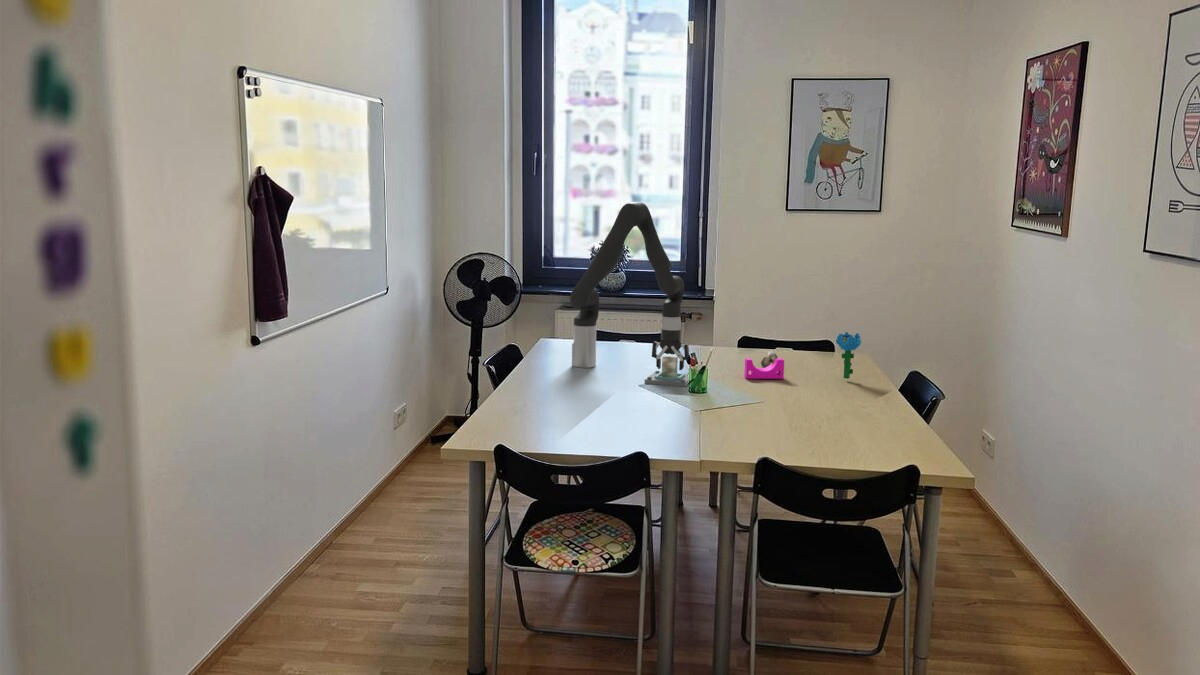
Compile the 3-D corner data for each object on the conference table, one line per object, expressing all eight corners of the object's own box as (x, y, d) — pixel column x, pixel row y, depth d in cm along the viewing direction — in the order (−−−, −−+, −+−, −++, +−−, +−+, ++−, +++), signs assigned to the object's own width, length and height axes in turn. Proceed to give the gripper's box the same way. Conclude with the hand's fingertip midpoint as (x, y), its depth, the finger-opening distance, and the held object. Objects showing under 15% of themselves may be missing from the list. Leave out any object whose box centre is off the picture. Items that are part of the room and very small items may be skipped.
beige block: (661, 377, 348) (662, 357, 347) (664, 375, 353) (665, 355, 352) (674, 378, 347) (674, 358, 345) (677, 376, 351) (677, 356, 350)
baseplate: (644, 383, 345) (644, 377, 344) (654, 375, 360) (654, 370, 360) (685, 386, 340) (685, 380, 340) (694, 378, 355) (694, 372, 355)
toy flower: (831, 378, 359) (833, 333, 357) (840, 374, 367) (842, 331, 364) (853, 381, 354) (855, 336, 351) (861, 377, 361) (864, 333, 358)
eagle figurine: (772, 371, 386) (767, 373, 378) (761, 359, 388) (755, 360, 380) (785, 359, 384) (780, 361, 376) (774, 347, 386) (768, 348, 378)
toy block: (779, 375, 365) (780, 357, 364) (783, 378, 359) (784, 360, 358) (743, 375, 364) (743, 357, 363) (746, 378, 358) (747, 359, 357)
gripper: (650, 328, 345) (649, 369, 348) (687, 330, 341) (686, 372, 344) (655, 325, 352) (654, 366, 355) (691, 327, 348) (690, 368, 351)
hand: (670, 369), depth 349 cm, fingers open, 8 cm apart
